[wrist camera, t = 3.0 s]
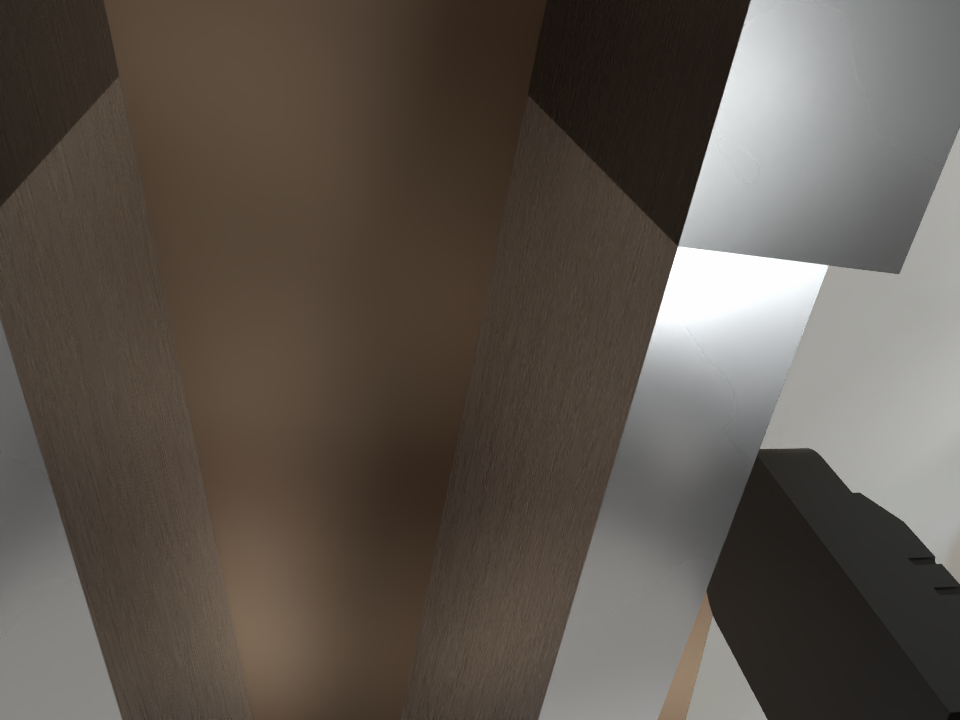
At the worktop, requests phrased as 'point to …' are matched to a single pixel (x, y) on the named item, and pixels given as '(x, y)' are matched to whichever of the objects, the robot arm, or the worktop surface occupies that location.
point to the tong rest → (330, 304)
